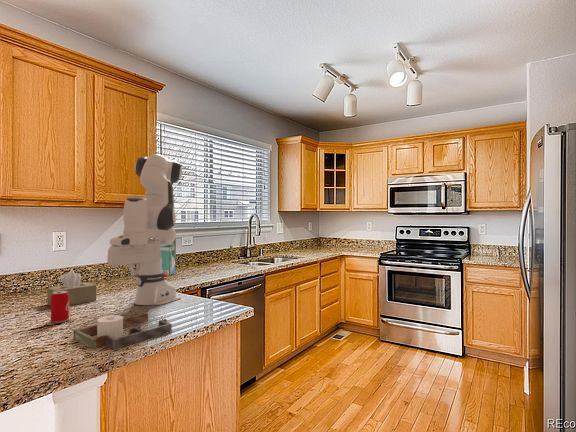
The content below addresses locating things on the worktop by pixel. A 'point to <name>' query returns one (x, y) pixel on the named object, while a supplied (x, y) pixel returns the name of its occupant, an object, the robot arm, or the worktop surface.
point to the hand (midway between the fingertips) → (135, 275)
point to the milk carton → (168, 258)
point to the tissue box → (74, 289)
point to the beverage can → (59, 306)
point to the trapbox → (134, 336)
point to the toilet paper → (110, 326)
